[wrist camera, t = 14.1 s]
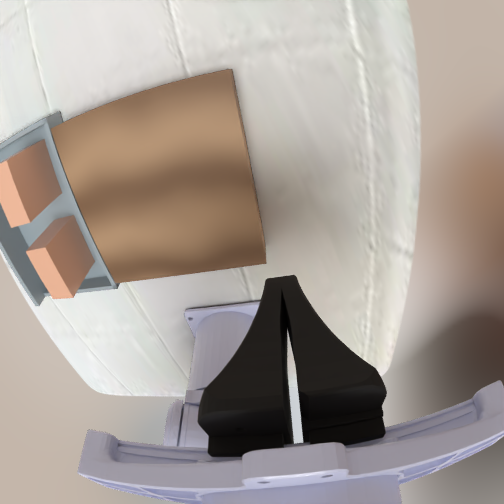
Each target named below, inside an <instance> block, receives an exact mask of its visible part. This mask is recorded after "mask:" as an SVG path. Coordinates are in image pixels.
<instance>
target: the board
mask: <svg viewBox="0 0 504 504" xmlns="http://www.w3.org/2000/svg"><path fill="white" fill-rule="evenodd" d="M51 132H52V135H53V138H54V141H55V144H56V147H57V150H58V153H59V156H60V159H61V162H62V165H63V167H64V170H65V173H66V175H67V178H68V181H69V183H70V186H71V188H72V191H73V193H74V196H75V198H76V201H77V203H78V206H79V208H80V210H81V213H82V215H83V217H84V219H85V222H86V224H87V226H88V228H89V231H90V233H91V235H92V237H93V239H94V241H95V243H96V246H97V248H98V250H99V252H100V254H101V256H102V258H103V260H104V262H105V264H106V266H107V268H108V270H109V272H110V274H111V275H112V277H113V279H114V281H115V283H122V282H130V281H138V280H146V279H154V278H162V277H169V276H177V275H185V274H192V273H200V272H207V271H215V270H222V269H230V268H237V267H244V266H252V265H259V264H266V248H265V240H264V235H263V229H262V224H261V218H260V213H259V207H258V202H257V196H256V191H255V186H254V180H253V175H252V169H251V164H250V159H249V154H248V148H247V143H246V138H245V133H244V127H243V122H242V117H241V112H240V107H239V102H238V97H237V92H236V87H235V82H234V77H233V72H232V69H227V70H222V71H217V72H213V73H208V74H204V75H199V76H195V77H191V78H187V79H183V80H179V81H176V82H172V83H168V84H165V85H161V86H158V87H155V88H151V89H148V90H145V91H142V92H139V93H136V94H133V95H130V96H127V97H124V98H121V99H119V100H116V101H113V102H111V103H108V104H105V105H103V106H100V107H98V108H95V109H93V110H90V111H88V112H86V113H83V114H81V115H79V116H76V117H74V118H72V119H70V120H68V121H65V122H63V123H61V124H59V125H57V126H55V127H53V128H51Z"/></svg>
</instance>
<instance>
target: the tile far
mask: <svg viewBox="0 0 504 504" xmlns="http://www.w3.org/2000/svg"><path fill="white" fill-rule="evenodd" d="M26 253H27V255H28V257H29V259H30V261H31V262H32V264H33V266H34V268H35V270H36V271H37V273H38V275H39V277H40V278H41V280H42V282H43V283H44V285H45V287H46V288H47V290H48V292H49V293H50V295H51V296H52V298H53V299H61V298H73V297H74V296H75V294H76V292H77V290H78V289H79V287H80V285H81V284H82V282H83V280H84V279H85V277H86V275H87V274H88V272H89V270H90V269H91V267H92V265H93V264H94V262H95V260H94V258H93V256H92V254H91V252H90V250H89V248H88V245H87V243H86V241H85V239H84V237H83V234H82V232H81V230H80V228H79V225H78V223H77V221H76V218H75V216H74V215H71V216H67V217H63V218H59V219H56V220H54V221H53V222H52V223H51V224H50V225H49V226H48V227H47V228H46V229H45V230H44V231H43V232H42V234H41V235H40V236H39V237H38V238H37V239H36V240H35V241H34V242H33V244H32V245H31V246H30V247H29V248H28V249H27V251H26Z"/></svg>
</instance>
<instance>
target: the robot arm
mask: <svg viewBox="0 0 504 504" xmlns="http://www.w3.org/2000/svg"><path fill="white" fill-rule="evenodd" d="M184 316H185V318H186V320H187V323H188V325H189V327H190V329H191V331H192V333H193V335H194V337H195V344H194V350H193V357H192V363H191V370H190V376H189V383H188V390H187V391H186V398H185V404H183V400H179V399H177V400H176V401H175V402H173V403H172V404H170V406H169V410H168V414H167V420H166V425H165V433H164V440H163V445H153V444H144V443H135V442H128V441H122V440H118V439H117V438H116V437H115V436H113V435H111V434H109V433H106V432H100V431H95V430H88V432H87V435H86V439H85V443H84V446H83V450H82V455H81V459H80V463H79V467H78V474H80V475H82V476H84V477H86V478H88V479H90V480H92V481H94V482H96V483H98V484H101V485H103V486H105V487H108V488H112V489H116V490H120V491H124V492H128V493H132V494H137V495H142V496H147V497H151V498H157V499H162V500H168V501H174V502H180V503H185V504H402V501H401V495H400V489H399V485H400V484H403V483H406V482H409V481H412V480H414V479H417V478H420V477H422V476H425V475H428V474H430V473H433V472H435V471H437V470H440V469H442V468H445V467H447V466H449V465H451V464H454V463H456V462H458V461H460V460H462V459H464V458H466V457H468V456H470V455H473V454H475V453H477V452H478V451H480V450H483V449H484V448H486V447H488V446H490V445H492V444H494V443H495V442H496V441H498V440H499V439H500V438H501V437H503V436H504V387H503V384H502V382H501V381H497V382H495V383H492V384H490V385H488V386H486V387H484V388H482V389H480V390H479V391H478V392H477V393H476V394H475V395H474V397H473V398H472V399H470V400H467V401H465V402H463V403H460V404H458V405H455V406H452V407H450V408H447V409H444V410H441V411H438V412H436V413H433V414H430V415H427V416H424V417H420V418H417V419H414V420H411V421H407V422H404V423H400V424H397V425H393V426H389V427H385V426H384V422H383V418H382V417H383V410H382V404H383V402H384V399H385V397H386V394H387V391H386V388H385V385H384V383H383V380H382V378H381V377H380V375H379V373H378V371H377V370H376V368H374V367H373V366H371V365H370V364H368V363H367V362H366V361H364V360H363V359H361V358H360V357H359V356H358V355H356V354H355V353H354V352H353V351H351V350H350V349H349V348H348V347H347V346H346V345H345V344H344V343H343V342H342V341H340V340H339V339H338V338H337V337H336V336H335V335H334V333H333V332H332V331H331V330H330V329H329V328H328V327H327V326H326V325H325V323H324V322H323V321H322V320H321V318H320V317H319V316H318V314H317V313H316V312H315V310H314V309H313V307H312V306H311V304H310V303H309V301H308V300H307V298H306V296H305V295H304V293H303V291H302V289H301V287H300V285H299V283H298V280H297V277H296V276H295V275H290V276H283V277H276V278H268V279H267V280H266V281H265V286H264V291H263V295H262V298H261V301H260V302H251V303H243V304H235V305H226V306H217V307H208V308H198V309H188V310H185V312H184ZM190 317H191V318H190ZM287 328H288V333H289V337H290V342H291V347H292V351H293V356H294V361H295V365H296V374H297V384H298V393H299V402H300V412H301V422H302V432H303V442H304V443H297V444H294V441H293V429H292V418H291V407H290V396H289V385H288V373H287Z"/></svg>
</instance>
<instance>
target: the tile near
mask: <svg viewBox="0 0 504 504" xmlns="http://www.w3.org/2000/svg"><path fill="white" fill-rule="evenodd" d="M60 194H62V191H61V188H60V185H59V182H58V180H57V177H56V174H55V171H54V168H53V165H52V162H51V159H50V155H49V152H48V149H47V146H46V142H45V139H43V140H41V141H39V142H36V143H34V144H32V145H30V146H28V147H25V148H24V149H22V150H20V151H18V152H17V153H15V154H13V155H12V156H10V157H8V158H7V159H5V160H3V161H2V162H0V203H1V206H2V208H3V210H4V213H5V215H6V217H7V220H8V222H9V224H10V226H11V228H13V227H16V226H20V225H24V224H27V223H31V222H32V221H33V220H34V219H35V218H36V217H37V216H38V215H39V214H40V213H41V212H42V211H43V210H44V209H45V208H46V207H47V206H48V205H49V204H50V203H52V202H53V201H54V200H55V199H56V198H57V197H58V196H59V195H60Z"/></svg>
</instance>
